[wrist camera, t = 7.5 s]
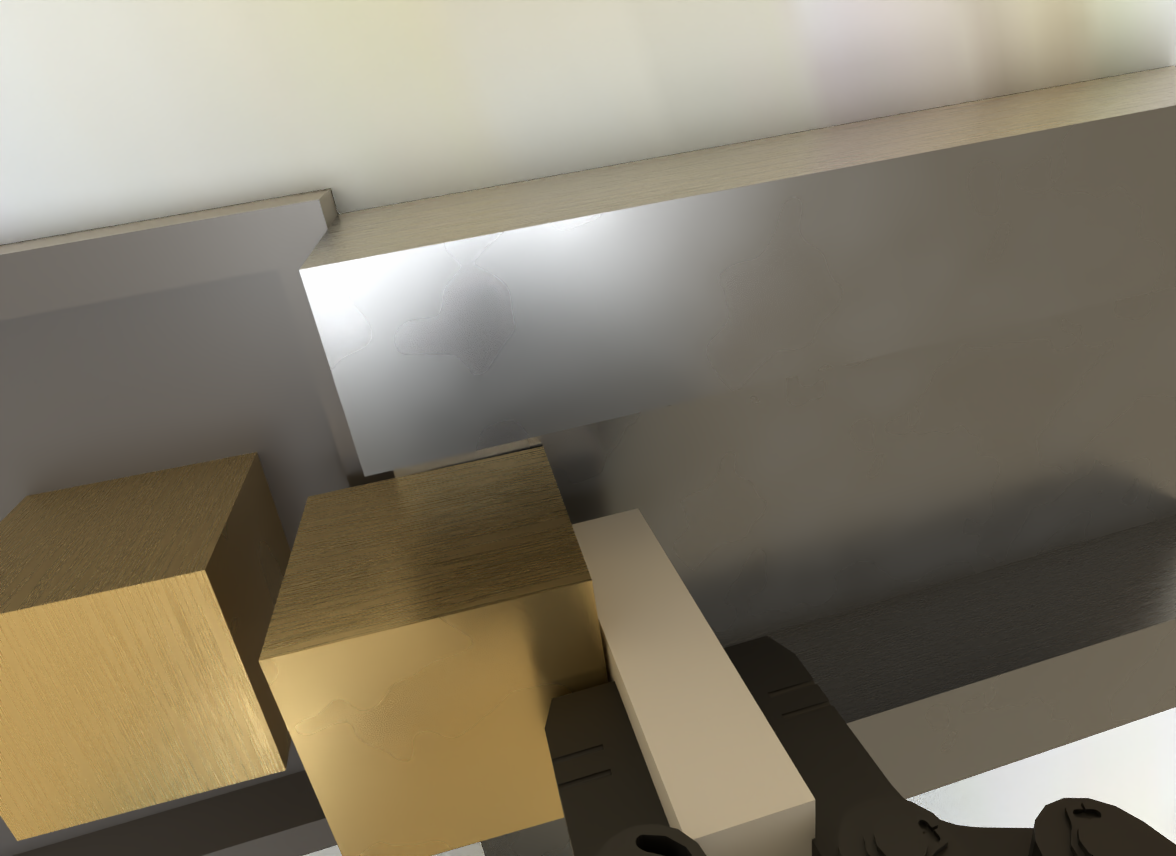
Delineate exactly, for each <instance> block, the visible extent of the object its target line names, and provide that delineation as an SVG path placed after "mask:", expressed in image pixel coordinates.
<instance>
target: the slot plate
mask: <svg viewBox="0 0 1176 856" xmlns="http://www.w3.org/2000/svg"><path fill="white" fill-rule="evenodd" d="M299 272H300V275H301V278H302V281H303V284H304V287H305V290H306V294H307V297H308V300H309V303H310V306H311V309H312V312H313V316H314V319H315V322H316V325H317V328H318V331H319V334H320V338H321V341H322V344H323V347H324V350H325V353H326V356H327V360H328V363H329V366H330V369H331V372H332V375H333V378H334V382H335V385H336V388H337V391H338V394H339V397H340V400H341V404H342V407H343V410H344V413H345V416H346V419H347V422H348V426H349V429H350V432H351V435H352V438H353V441H354V444H355V448H356V451H357V454H358V457H359V460H360V463H361V466H362V470H363V473H364V476H365V477H366V476H370V475H375V474H379V473H383V472H388V471H392V470H393V473H394V476H395V478H397V477H402V476H407V475H411V474H416V473H421V472H425V471H430V470H435V469H439V468H444V467H449V466H453V465H458V464H463V463H467V462H472V461H477V460H481V459H486V458H491V457H495V456H500V455H505V454H509V453H514V452H519V451H523V450H528V449H533V448H537V447H542V446H543V447H544V450H545V453H546V456H547V458H548V461H549V464H550V467H551V469H552V472H553V475H554V477H555V480H556V483H557V486H558V488H559V491H560V494H561V497H562V499H563V502H564V505H565V508H566V510H567V513H568V516H569V519H570V521H571V524H576V523H580V522H584V521H589V520H593V519H597V518H601V517H605V516H609V515H613V514H617V513H621V512H625V511H629V510H633V509H637V508H638V509H639V511H640V512H641V514H642V516H643V517H644V519H645V521H646V522H647V524H648V526H649V527H650V529H651V530H652V532H653V534H654V535H655V537H656V539H657V540H658V542H659V544H660V545H661V547H662V549H663V550H664V552H665V553H666V555H667V557H668V558H669V560H670V562H671V563H672V565H673V567H674V568H675V570H676V572H677V573H678V575H679V576H680V578H681V580H682V581H683V583H684V585H685V586H686V588H687V590H688V591H689V593H690V595H691V596H692V598H693V599H694V601H695V603H696V604H697V606H698V608H699V609H700V611H701V613H702V614H703V616H704V618H705V619H706V621H707V622H708V624H709V626H710V627H711V629H712V631H713V632H714V634H715V636H716V637H717V639H718V641H719V642H720V644H721V645H722V647H723V648H725V647H728V646H732V645H735V644H739V643H742V642H746V641H749V640H753V639H756V638H760V637H763V636H768V637H770V638H772V639H773V640H775V641H776V642H778V643H779V644H781V645H782V646H784V647H785V648H787V649H788V650H790V651H791V652H793V653H795V655H796V656H797V657H798V659H799V660H800V661H801V663H802V664H803V665H804V667H805V668H806V669H807V671H808V672H809V673H810V675H811V676H812V678H813V679H814V683H815V684H818V686H819V687H820V688H821V690H822V691H823V692H824V694H825V695H826V697H827V698H828V699H829V702H830V705H831V706H834V707H835V709H836V710H837V711H838V713H839V714H840V716H841V717H842V718H843V720H844V721H845V722H846V724H847V725H848V726H849V728H850V729H851V730H852V732H853V733H854V735H855V736H856V737H857V739H858V740H859V741H860V743H861V744H862V745H863V747H864V748H865V749H866V751H867V752H868V754H869V755H870V756H871V758H872V759H873V760H874V762H875V763H876V764H877V766H878V767H879V768H880V770H881V771H882V772H883V774H884V775H885V777H886V778H887V779H888V781H889V782H890V783H891V785H892V786H893V787H894V788H895V789H896V790H897V791H898V792H899V793H900V795H901V796H902V797H903V798H904V799H907V798H910V797H913V796H916V795H919V794H922V793H925V792H928V791H931V790H934V789H937V788H940V787H943V786H946V785H949V784H951V783H954V782H957V781H960V780H963V779H966V778H969V777H972V776H975V775H978V774H981V773H984V772H987V771H990V770H993V769H995V768H998V767H1001V766H1004V765H1007V764H1010V763H1013V762H1016V761H1019V760H1022V759H1025V758H1028V757H1031V756H1034V755H1037V754H1039V753H1042V752H1045V751H1048V750H1051V749H1054V748H1057V747H1060V746H1063V745H1066V744H1069V743H1072V742H1075V741H1078V740H1081V739H1083V738H1086V737H1089V736H1092V735H1095V734H1098V733H1101V732H1104V731H1107V730H1110V729H1113V728H1116V727H1119V726H1122V725H1125V724H1127V723H1130V722H1133V721H1136V720H1139V719H1142V718H1145V717H1148V716H1151V715H1154V714H1157V713H1160V712H1163V711H1166V710H1169V709H1171V708H1174V707H1176V66H1168V67H1163V68H1157V69H1152V70H1146V71H1140V72H1135V73H1129V74H1123V75H1118V76H1112V77H1107V78H1101V79H1095V80H1090V81H1084V82H1078V83H1073V84H1067V85H1062V86H1056V87H1050V88H1045V89H1039V90H1033V91H1028V92H1022V93H1017V94H1011V95H1005V96H1000V97H994V98H989V99H983V100H977V101H972V102H966V103H960V104H955V105H949V106H944V107H938V108H932V109H927V110H921V111H915V112H910V113H904V114H899V115H893V116H887V117H882V118H876V119H870V120H865V121H859V122H854V123H848V124H842V125H837V126H831V127H825V128H820V129H814V130H809V131H803V132H797V133H792V134H786V135H781V136H775V137H769V138H764V139H758V140H752V141H747V142H741V143H736V144H730V145H724V146H719V147H713V148H707V149H702V150H696V151H691V152H685V153H679V154H674V155H668V156H662V157H657V158H651V159H646V160H640V161H634V162H629V163H623V164H617V165H612V166H606V167H601V168H595V169H589V170H584V171H578V172H573V173H567V174H561V175H556V176H550V177H544V178H539V179H533V180H528V181H522V182H516V183H511V184H505V185H499V186H494V187H488V188H483V189H477V190H471V191H466V192H460V193H454V194H449V195H443V196H438V197H432V198H426V199H421V200H415V201H410V202H404V203H398V204H393V205H387V206H381V207H376V208H370V209H365V210H359V211H353V212H348V213H342V214H338V215H337V216H336V218H335V219H334V221H333V222H332V224H331V225H330V226H329V228H328V229H327V231H326V232H325V234H324V235H323V236H322V238H321V239H320V241H319V242H318V244H317V245H316V246H315V248H314V249H313V251H312V252H311V254H310V255H309V256H308V258H307V259H306V261H305V262H304V264H303V265H302V266H301V268H300V269H299ZM481 843H482V847H483V850H484V853H485V856H573V853H572V848H571V844H570V840H569V835H568V831H567V827H566V823H565V818H560V819H557V820H554V821H550V822H547V823H543V824H540V825H536V826H533V827H529V828H526V829H522V830H519V831H515V832H512V833H508V834H505V835H501V836H498V837H494V838H491V839H487V840H484V841H481Z"/></svg>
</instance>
